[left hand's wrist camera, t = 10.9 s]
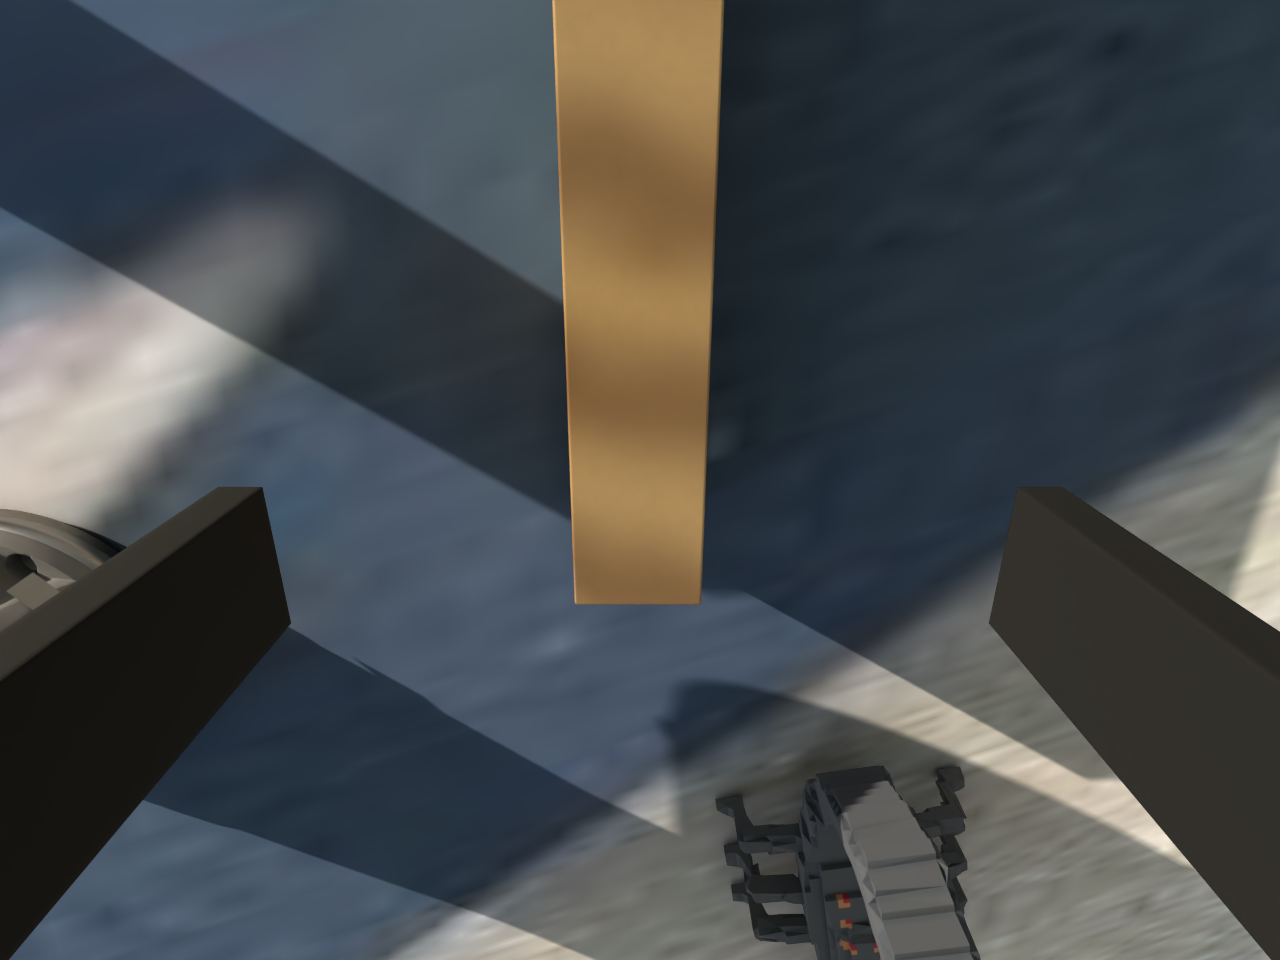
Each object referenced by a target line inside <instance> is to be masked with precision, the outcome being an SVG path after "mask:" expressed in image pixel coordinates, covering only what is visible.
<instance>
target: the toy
mask: <svg viewBox="0 0 1280 960" xmlns="http://www.w3.org/2000/svg"><path fill="white" fill-rule="evenodd" d="M935 782H936V784H937V786H938V788H939V790H940V795H941V797H942V799H943V801H944V802H940V803H941V805H942V806H938V807H932V808H927V809H926V810H925V811H924V812H923V813H915V811H914V809H913V808H912V807H911V806H910V805H908V804H907V803H906V802H905V801H904V800H903V799H902V798H901V796H900V795H899V794H898V793H897V792H896V791H895V788H894V785H893V782H892V780H891V777H890V774H889V773H888V771H887V770H886V769H885V768H884V767H883V766H872V767H865V768H858V769H850V770H843V771H835V772H828V773H821V774H816V779H810V780H807V781H806V784H805V788H804V795H803V808H802V810H801V813H800V820H799V823H798V824H792V825H761V826H753V825H752V823H751V821H750V820H749V818H748V817H747V815H746V812H745V809H744V805H743V800H742V796H737V797H729V798H722V799H716V805H717V810H718V811H720V812H722V813H724V814H726V815H728V816H730V817H734V818H735V825H736V831H737V838H738V843H737V844H729V845H724V850H725V856H726V862H727V865H730V866H736V867H742V868H743V870H744V878H745V883H742V884H734V885H731V888H732V895H733V901H743V902H746V903H749V907H750V914H751V920H752V926H753V932H754V935H755V938H757V939H758V940H760V941H771V942H786V943H787V944H795V943H805V942H811V943H812V944H814V946H815V950H816V954H817V958H818V960H980V955H979V953H978V950H977V948H976V946H975V943H974V941H973V939H972V936H971V934H970V931H969V929H968V927H967V924H966V921H965V918H964V915H963V914H964V906H965V904H966V902H967V899H966V896H965V894H964V892H963V890H962V888H961V886H960V884H959V882H958V879H957V877H956V876H957V875H959V874H960V873H961V872H963V871H965V870H967V860H966V858H965V856H964V854H963V852H962V850H961V848H960V846H959V844H958V842H957V840H956V838H955V835H958V834H960V833H962V832H963V831H965V824H964V822H963V818H966V816H965V814H964V811H963V809H962V807H961V805H960V803H959V801H958V798H957V797H956V795H955V793H954V792H955V791H958V790H960V789H962V788H963V787H964V777H963V774H962V771H961V769H960V767H952V768H945V769H938V780H937V781H935ZM937 836H940V838H941V841H942V843H943V845H941V852H942V853H940V852H939V850H938V849H937V847H936V845H935V844H934V842H933V840H932V839H931V837H937ZM759 852H768V853H769V855H772V854H778V853H783V852H796V859H797V865H798V878H797V877H796V876H795V875H793V874H786V875H767V876H764V875H760V872H759V866H758V863H757V864H755V865H753V862H752V856H751V854H750V853H759ZM779 901H786V902H790V903H795V904H803V909H804V913H805V916H804V914H778V915H768V914H767V913H766V911H765V909H764V907H763V905H762V904H761V903H768V902H779Z"/></svg>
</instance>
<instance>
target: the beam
mask: <svg viewBox="0 0 1280 960" xmlns="http://www.w3.org/2000/svg"><path fill="white" fill-rule="evenodd" d="M552 2H553V29H554V56H555V83H556V110H557V137H558V164H559V191H560V218H561V245H562V272H563V299H564V326H565V353H566V380H567V408H568V435H569V462H570V489H571V516H572V543H573V570H574V597H575V604H663V605H699V604H701V595H702V569H703V543H704V517H705V491H706V465H707V439H708V413H709V387H710V361H711V335H712V309H713V283H714V257H715V231H716V205H717V179H718V153H719V127H720V101H721V75H722V49H723V23H724V0H552Z"/></svg>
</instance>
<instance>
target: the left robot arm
mask: <svg viewBox="0 0 1280 960" xmlns="http://www.w3.org/2000/svg"><path fill="white" fill-rule="evenodd" d="M290 624H291V621H290V616H289V611H288V607H287V602H286V597H285V592H284V588H283V583H282V578H281V574H280V569H279V564H278V559H277V555H276V550H275V545H274V540H273V536H272V531H271V526H270V521H269V517H268V512H267V507H266V502H265V498H264V493H263V488H262V487H218V488H216V489H215V490H213V491H211V492H210V493H208V494H207V495H205V496H204V497H202V498H201V499H199V500H198V501H196V502H195V503H193V504H192V505H190V506H189V507H187V508H186V509H184V510H183V511H181V512H180V513H178V514H177V515H175V516H174V517H172V518H171V519H169V520H168V521H166V522H165V523H163V524H162V525H160V526H159V527H157V528H156V529H154V530H153V531H151V532H150V533H148V534H147V535H145V536H144V537H142V538H141V539H139V540H138V541H136V542H135V543H133V544H132V545H130V546H129V547H127V548H126V549H124V550H123V551H121V552H120V553H119V552H118V551H116V550H115V549H113V548H112V547H110V546H109V545H107V544H105V543H104V542H102V541H101V540H99V539H97V538H95V537H93V536H91V535H89V534H88V533H86V532H84V531H81V530H79V529H77V528H75V527H72V526H70V525H68V524H65V523H62V522H59V521H57V520H54V519H51V518H47V517H44V516H40V515H36V514H32V513H27V512H21V511H15V510H6V509H0V960H9V959H10V958H11V956H12V955H13V954H14V953H15V952H16V950H17V949H18V948H19V947H20V946H21V944H22V943H23V942H24V941H25V940H26V939H27V937H28V936H29V935H30V934H31V933H32V931H33V930H34V929H35V928H36V927H37V925H38V924H39V923H40V922H41V921H42V919H43V918H44V917H45V916H46V915H47V913H48V912H49V911H50V910H51V909H52V908H53V906H54V905H55V904H56V903H57V902H58V900H59V899H60V898H61V897H62V896H63V894H64V893H65V892H66V891H67V890H68V888H69V887H70V886H71V885H72V884H73V882H74V881H75V880H76V879H77V878H78V877H79V875H80V874H81V873H82V872H83V871H84V869H85V868H86V867H87V866H88V865H89V863H90V862H91V861H92V860H93V859H94V857H95V856H96V855H97V854H98V853H99V851H100V850H101V849H102V848H103V847H104V846H105V844H106V843H107V842H108V841H109V840H110V838H111V837H112V836H113V835H114V834H115V832H116V831H117V830H118V829H119V828H120V826H121V825H122V824H123V823H124V822H125V820H126V819H127V818H128V817H129V816H130V815H131V813H132V812H133V811H134V810H135V809H136V807H137V806H138V805H139V804H140V803H141V801H142V800H143V799H144V798H145V797H146V795H147V794H148V793H149V792H150V791H151V789H152V788H153V787H154V786H155V785H156V784H157V782H158V781H159V780H160V779H161V778H162V776H163V775H164V774H165V773H166V772H167V770H168V769H169V768H170V767H171V766H172V764H173V763H174V762H175V761H176V760H177V758H178V757H179V756H180V755H181V754H182V753H183V751H184V750H185V749H186V748H187V747H188V745H189V744H190V743H191V742H192V741H193V739H194V738H195V737H196V736H197V735H198V733H199V732H200V731H201V730H202V729H203V727H204V726H205V725H206V724H207V723H208V722H209V720H210V719H211V718H212V717H213V716H214V714H215V713H216V712H217V711H218V710H219V708H220V707H221V706H222V705H223V704H224V702H225V701H226V700H227V699H228V698H229V696H230V695H231V694H232V693H233V692H234V690H235V689H236V688H237V687H238V686H239V685H240V683H241V682H242V681H243V680H244V679H245V677H246V676H247V675H248V674H249V673H250V671H251V670H252V669H253V668H254V667H255V665H256V664H257V663H258V662H259V661H260V659H261V658H262V657H263V656H264V655H265V654H266V652H267V651H268V650H269V649H270V648H271V646H272V645H273V644H274V643H275V642H276V640H277V639H278V638H279V637H280V636H281V634H282V633H283V632H284V631H285V630H286V628H287V627H288V626H289V625H290ZM989 624H990V625H991V626H992V627H993V628H994V630H995V631H996V632H997V633H998V634H999V636H1000V637H1001V638H1002V639H1003V640H1004V642H1005V643H1006V644H1007V645H1008V646H1009V648H1010V649H1011V650H1012V651H1013V652H1014V654H1015V655H1016V656H1017V657H1018V658H1019V659H1020V661H1021V662H1022V663H1023V664H1024V665H1025V667H1026V668H1027V669H1028V670H1029V671H1030V673H1031V674H1032V675H1033V676H1034V677H1035V679H1036V680H1037V681H1038V682H1039V683H1040V685H1041V686H1042V687H1043V688H1044V689H1045V691H1046V692H1047V693H1048V694H1049V695H1050V696H1051V698H1052V699H1053V700H1054V701H1055V702H1056V704H1057V705H1058V706H1059V707H1060V708H1061V710H1062V711H1063V712H1064V713H1065V714H1066V716H1067V717H1068V718H1069V719H1070V720H1071V722H1072V723H1073V724H1074V725H1075V726H1076V727H1077V729H1078V730H1079V731H1080V732H1081V733H1082V735H1083V736H1084V737H1085V738H1086V739H1087V741H1088V742H1089V743H1090V744H1091V745H1092V747H1093V748H1094V749H1095V750H1096V751H1097V753H1098V754H1099V755H1100V756H1101V757H1102V758H1103V760H1104V761H1105V762H1106V763H1107V764H1108V766H1109V767H1110V768H1111V769H1112V770H1113V772H1114V773H1115V774H1116V775H1117V776H1118V778H1119V779H1120V780H1121V781H1122V782H1123V784H1124V785H1125V786H1126V787H1127V788H1128V789H1129V791H1130V792H1131V793H1132V794H1133V795H1134V797H1135V798H1136V799H1137V800H1138V801H1139V803H1140V804H1141V805H1142V806H1143V807H1144V809H1145V810H1146V811H1147V812H1148V813H1149V815H1150V816H1151V817H1152V818H1153V819H1154V820H1155V822H1156V823H1157V824H1158V825H1159V826H1160V828H1161V829H1162V830H1163V831H1164V832H1165V834H1166V835H1167V836H1168V837H1169V838H1170V840H1171V841H1172V842H1173V843H1174V844H1175V846H1176V847H1177V848H1178V849H1179V850H1180V851H1181V853H1182V854H1183V855H1184V856H1185V857H1186V859H1187V860H1188V861H1189V862H1190V863H1191V865H1192V866H1193V867H1194V868H1195V869H1196V871H1197V872H1198V873H1199V874H1200V875H1201V877H1202V878H1203V879H1204V880H1205V881H1206V882H1207V884H1208V885H1209V886H1210V887H1211V888H1212V890H1213V891H1214V892H1215V893H1216V894H1217V896H1218V897H1219V898H1220V899H1221V900H1222V902H1223V903H1224V904H1225V905H1226V906H1227V908H1228V909H1229V910H1230V911H1231V912H1232V913H1233V915H1234V916H1235V917H1236V918H1237V919H1238V921H1239V922H1240V923H1241V924H1242V925H1243V927H1244V928H1245V929H1246V930H1247V931H1248V933H1249V934H1250V935H1251V936H1252V937H1253V939H1254V940H1255V941H1256V942H1257V943H1258V944H1259V946H1260V947H1261V948H1262V949H1263V950H1264V952H1265V953H1266V954H1267V955H1268V956H1269V958H1270V959H1271V960H1280V632H1279V631H1278V630H1276V629H1275V628H1273V627H1272V626H1270V625H1269V624H1267V623H1266V622H1264V621H1263V620H1261V619H1260V618H1258V617H1257V616H1255V615H1254V614H1252V613H1251V612H1249V611H1248V610H1246V609H1245V608H1243V607H1242V606H1240V605H1239V604H1237V603H1236V602H1234V601H1233V600H1231V599H1230V598H1228V597H1227V596H1225V595H1224V594H1222V593H1221V592H1219V591H1218V590H1216V589H1215V588H1213V587H1212V586H1210V585H1209V584H1207V583H1206V582H1204V581H1203V580H1201V579H1200V578H1198V577H1197V576H1195V575H1193V574H1192V573H1190V572H1189V571H1187V570H1186V569H1184V568H1183V567H1181V566H1180V565H1178V564H1177V563H1175V562H1174V561H1172V560H1171V559H1169V558H1168V557H1166V556H1165V555H1163V554H1162V553H1160V552H1159V551H1157V550H1156V549H1154V548H1153V547H1151V546H1150V545H1148V544H1147V543H1145V542H1144V541H1142V540H1141V539H1139V538H1138V537H1136V536H1135V535H1133V534H1132V533H1130V532H1129V531H1127V530H1126V529H1124V528H1123V527H1121V526H1120V525H1118V524H1117V523H1115V522H1114V521H1112V520H1111V519H1109V518H1108V517H1106V516H1105V515H1103V514H1102V513H1100V512H1099V511H1097V510H1096V509H1094V508H1093V507H1091V506H1090V505H1088V504H1087V503H1085V502H1084V501H1082V500H1081V499H1079V498H1078V497H1076V496H1075V495H1073V494H1072V493H1070V492H1068V491H1067V490H1065V489H1064V488H1062V487H1018V488H1017V493H1016V498H1015V502H1014V507H1013V512H1012V517H1011V521H1010V526H1009V531H1008V536H1007V540H1006V545H1005V550H1004V555H1003V559H1002V564H1001V569H1000V574H999V578H998V583H997V588H996V592H995V597H994V602H993V607H992V611H991V616H990V621H989Z"/></svg>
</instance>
